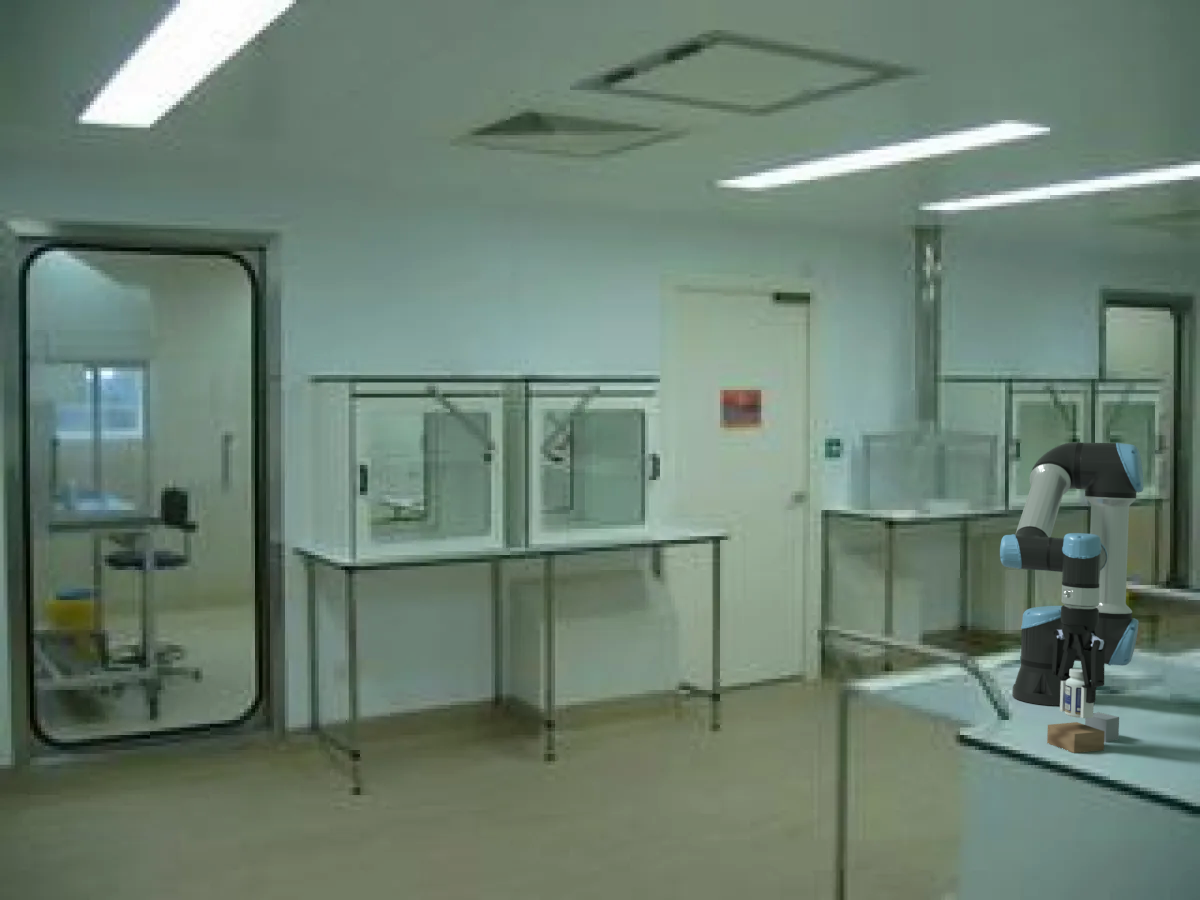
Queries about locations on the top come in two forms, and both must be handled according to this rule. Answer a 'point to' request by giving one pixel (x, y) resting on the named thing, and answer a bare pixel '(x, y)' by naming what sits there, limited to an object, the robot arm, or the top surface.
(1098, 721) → the slate cube
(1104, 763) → the top surface
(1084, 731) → the walnut block
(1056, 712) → the top surface
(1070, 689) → the pill bottle
